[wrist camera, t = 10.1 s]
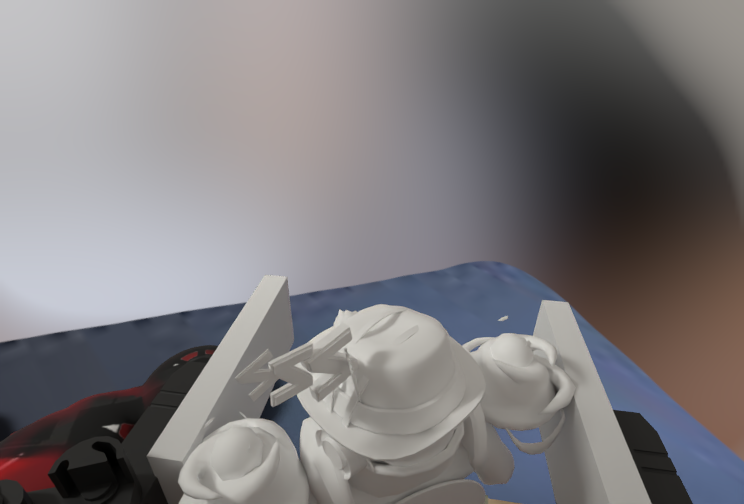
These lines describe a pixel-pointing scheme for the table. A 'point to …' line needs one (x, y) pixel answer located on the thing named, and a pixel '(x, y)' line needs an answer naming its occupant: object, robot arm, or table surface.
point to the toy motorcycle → (84, 424)
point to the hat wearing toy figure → (384, 417)
